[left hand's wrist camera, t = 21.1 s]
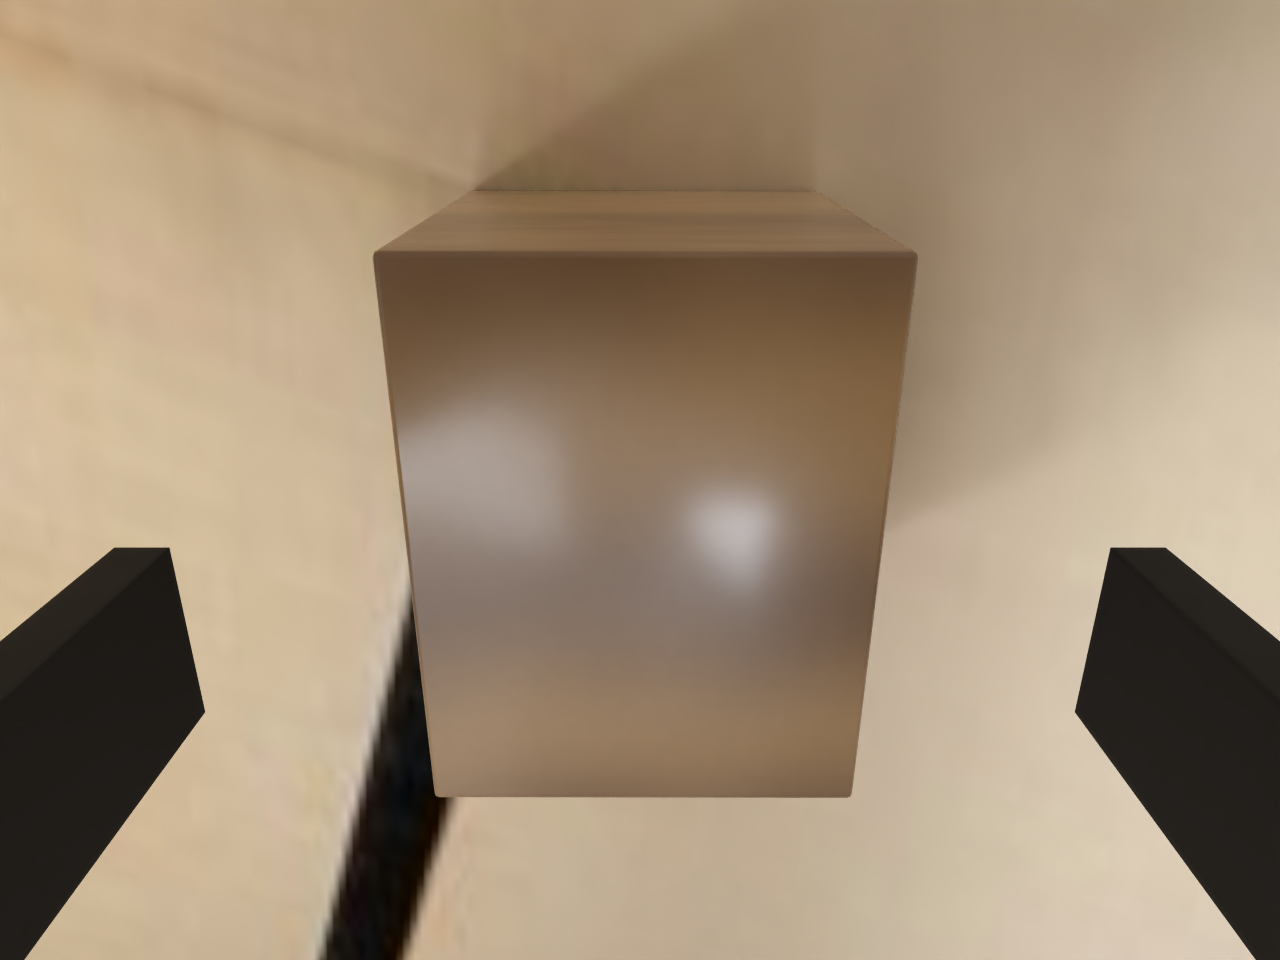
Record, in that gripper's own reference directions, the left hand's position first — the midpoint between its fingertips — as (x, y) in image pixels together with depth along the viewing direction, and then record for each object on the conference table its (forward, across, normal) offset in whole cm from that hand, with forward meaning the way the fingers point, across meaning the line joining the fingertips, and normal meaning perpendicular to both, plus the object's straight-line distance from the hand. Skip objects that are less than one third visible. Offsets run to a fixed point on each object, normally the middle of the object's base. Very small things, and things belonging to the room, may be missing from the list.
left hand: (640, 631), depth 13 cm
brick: (+8, 0, +1) cm, 8 cm away
